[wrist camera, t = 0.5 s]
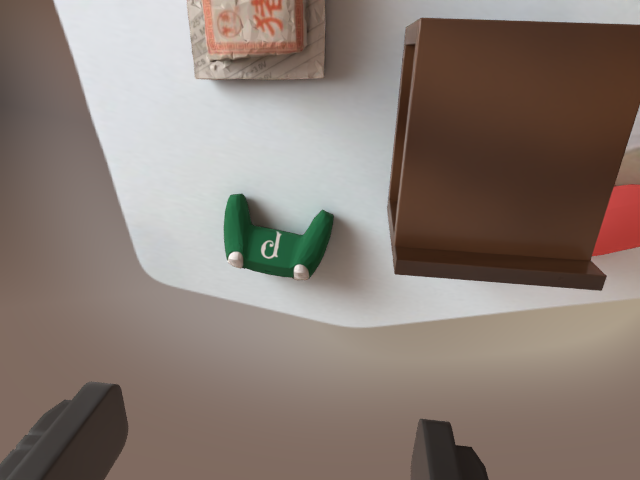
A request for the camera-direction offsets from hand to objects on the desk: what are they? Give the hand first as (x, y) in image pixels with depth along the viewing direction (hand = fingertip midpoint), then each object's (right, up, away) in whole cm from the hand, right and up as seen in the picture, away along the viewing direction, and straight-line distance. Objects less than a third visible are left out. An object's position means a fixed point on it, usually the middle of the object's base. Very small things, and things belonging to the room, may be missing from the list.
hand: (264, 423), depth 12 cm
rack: (+13, +14, +22) cm, 29 cm away
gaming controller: (-2, +6, +28) cm, 28 cm away
